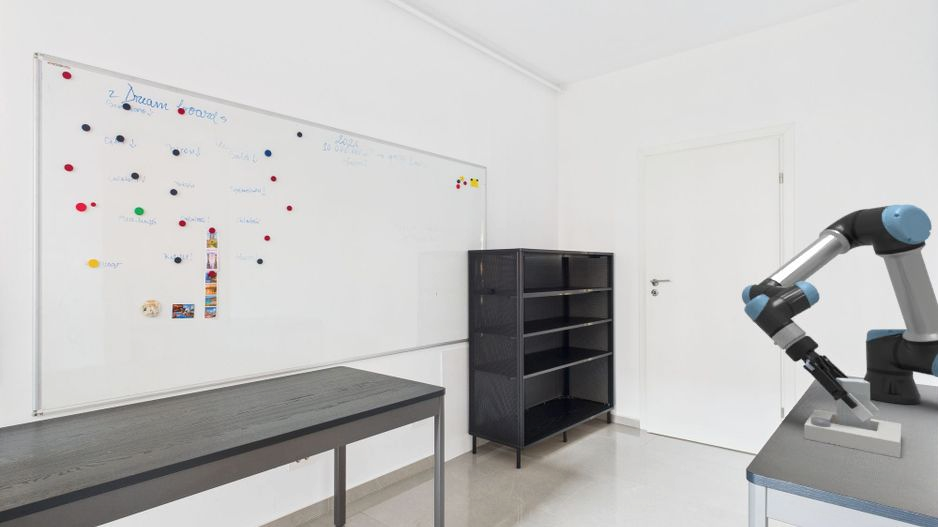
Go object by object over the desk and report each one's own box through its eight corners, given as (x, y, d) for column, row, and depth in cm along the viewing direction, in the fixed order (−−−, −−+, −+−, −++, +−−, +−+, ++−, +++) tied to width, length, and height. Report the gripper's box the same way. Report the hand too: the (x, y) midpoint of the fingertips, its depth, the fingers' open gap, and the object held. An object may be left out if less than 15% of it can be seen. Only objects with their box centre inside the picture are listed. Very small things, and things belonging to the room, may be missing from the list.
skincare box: (863, 425, 124) (863, 378, 124) (871, 430, 120) (871, 382, 120) (835, 422, 126) (835, 377, 126) (842, 427, 122) (842, 380, 122)
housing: (814, 421, 134) (814, 405, 134) (901, 437, 121) (901, 419, 121) (804, 438, 121) (804, 419, 121) (900, 458, 108) (900, 437, 108)
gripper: (795, 347, 141) (866, 416, 128) (772, 354, 128) (848, 431, 116) (817, 331, 137) (892, 400, 124) (795, 337, 124) (876, 415, 112)
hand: (870, 415), depth 120 cm, fingers closed on skincare box, 6 cm apart
